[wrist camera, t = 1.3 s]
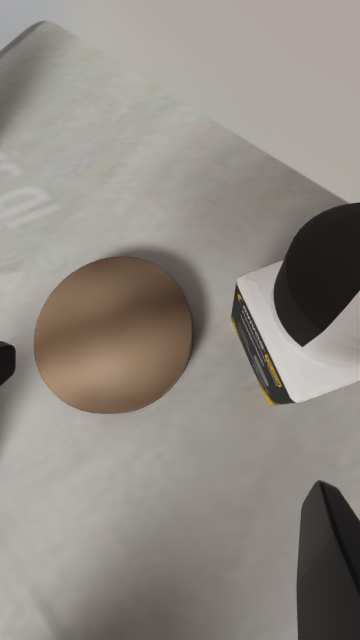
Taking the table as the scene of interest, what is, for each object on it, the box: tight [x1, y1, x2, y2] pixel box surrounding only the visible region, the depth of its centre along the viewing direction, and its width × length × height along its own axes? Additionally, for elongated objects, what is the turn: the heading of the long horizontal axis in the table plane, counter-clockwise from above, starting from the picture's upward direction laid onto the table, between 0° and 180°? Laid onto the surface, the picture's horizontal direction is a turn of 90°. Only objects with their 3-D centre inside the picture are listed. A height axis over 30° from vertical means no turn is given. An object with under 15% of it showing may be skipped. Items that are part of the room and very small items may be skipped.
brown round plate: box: [34, 257, 193, 414], centre depth 22 cm, size 12×12×2 cm
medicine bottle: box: [231, 203, 360, 405], centre depth 15 cm, size 7×7×12 cm
